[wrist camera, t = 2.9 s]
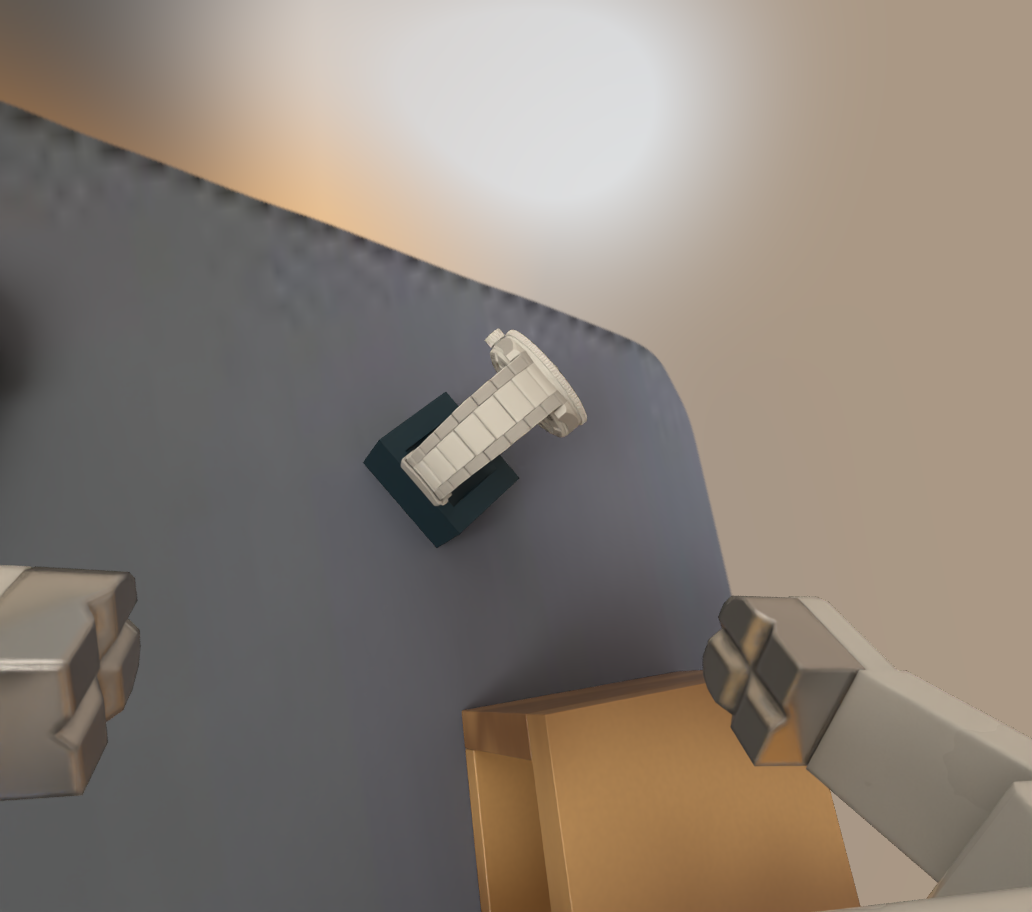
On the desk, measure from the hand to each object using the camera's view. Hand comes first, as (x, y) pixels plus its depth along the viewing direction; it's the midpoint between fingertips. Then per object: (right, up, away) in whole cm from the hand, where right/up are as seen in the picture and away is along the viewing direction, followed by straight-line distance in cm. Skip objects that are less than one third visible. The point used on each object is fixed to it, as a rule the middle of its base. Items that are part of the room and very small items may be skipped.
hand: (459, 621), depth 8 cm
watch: (-4, +1, +23) cm, 23 cm away
